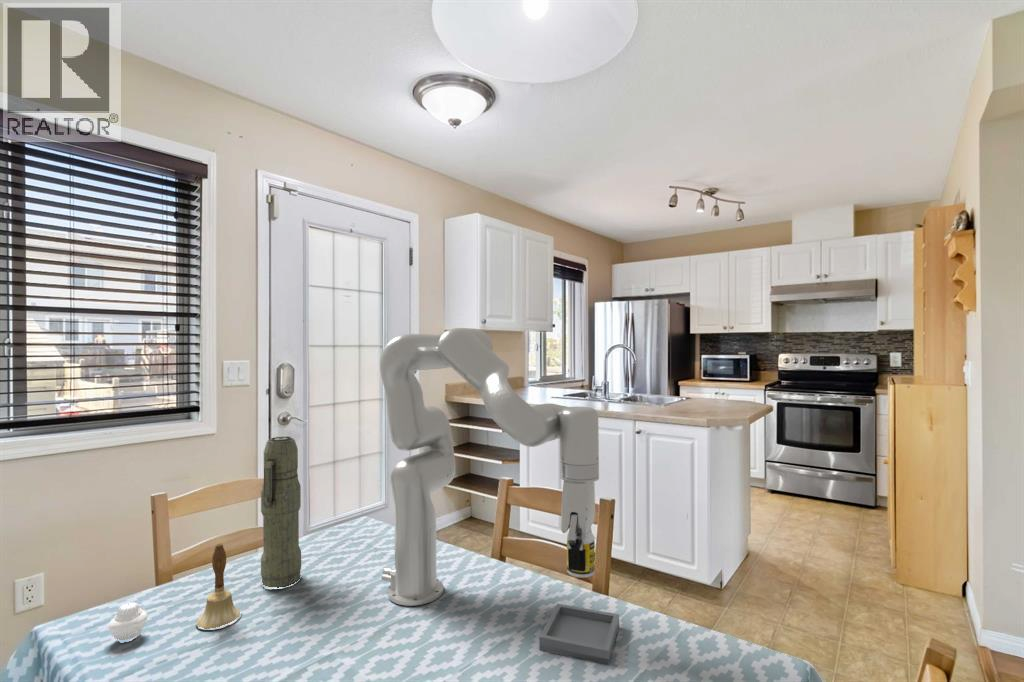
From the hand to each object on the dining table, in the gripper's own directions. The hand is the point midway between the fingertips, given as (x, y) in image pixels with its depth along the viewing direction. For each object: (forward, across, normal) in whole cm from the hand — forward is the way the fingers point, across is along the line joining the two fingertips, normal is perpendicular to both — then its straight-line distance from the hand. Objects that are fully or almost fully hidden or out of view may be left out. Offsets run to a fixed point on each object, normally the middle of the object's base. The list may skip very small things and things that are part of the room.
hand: (580, 562), depth 99 cm
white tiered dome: (+15, +30, -84) cm, 91 cm away
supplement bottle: (+2, 0, 0) cm, 2 cm away
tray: (+15, 0, 0) cm, 15 cm away
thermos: (+15, +1, -74) cm, 76 cm away
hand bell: (+15, +19, -73) cm, 77 cm away
